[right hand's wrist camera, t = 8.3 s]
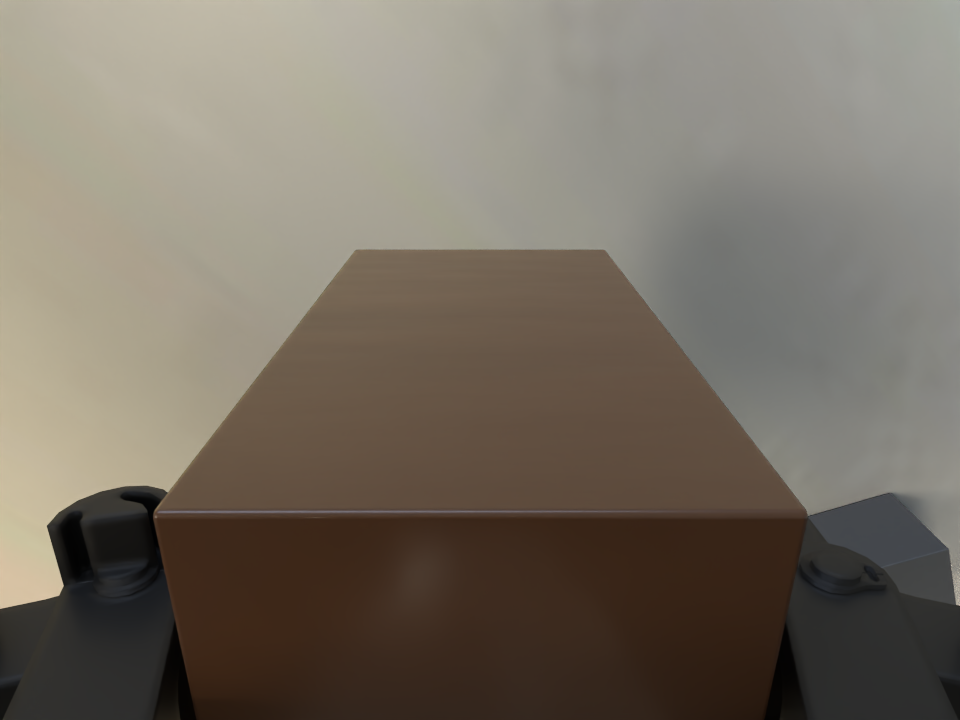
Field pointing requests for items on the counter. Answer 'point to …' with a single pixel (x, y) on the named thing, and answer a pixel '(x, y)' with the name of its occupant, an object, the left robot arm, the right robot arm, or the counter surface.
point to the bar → (480, 510)
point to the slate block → (892, 545)
